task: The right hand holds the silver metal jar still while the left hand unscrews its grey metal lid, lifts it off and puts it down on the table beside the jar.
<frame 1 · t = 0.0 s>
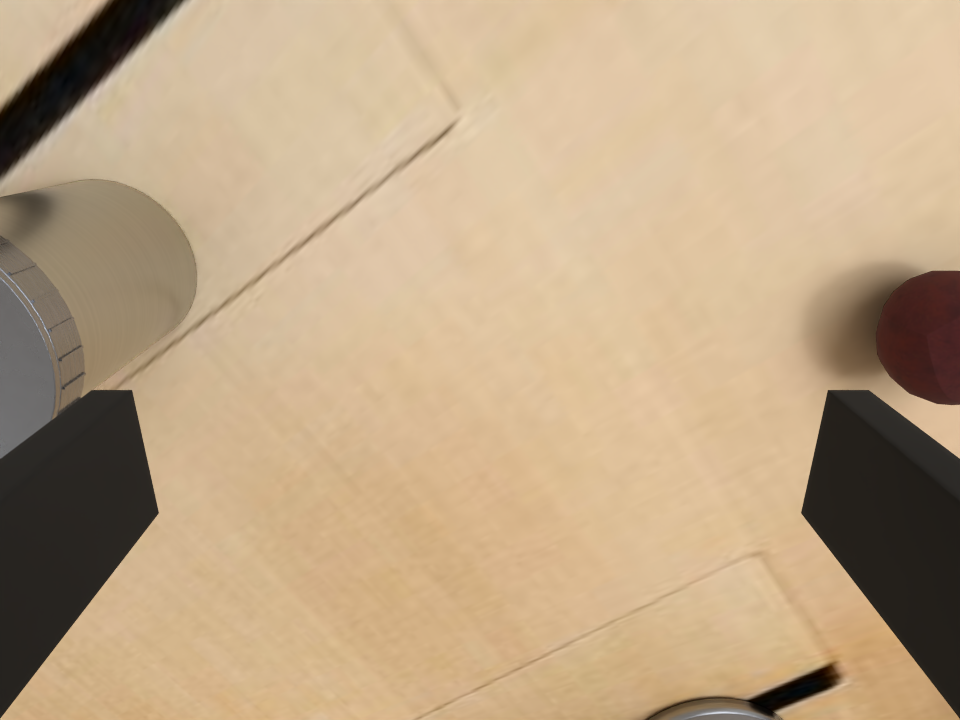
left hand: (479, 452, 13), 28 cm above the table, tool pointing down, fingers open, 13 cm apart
jar: (112, 265, 40), on the table
dark red ball: (909, 315, 41), on the table
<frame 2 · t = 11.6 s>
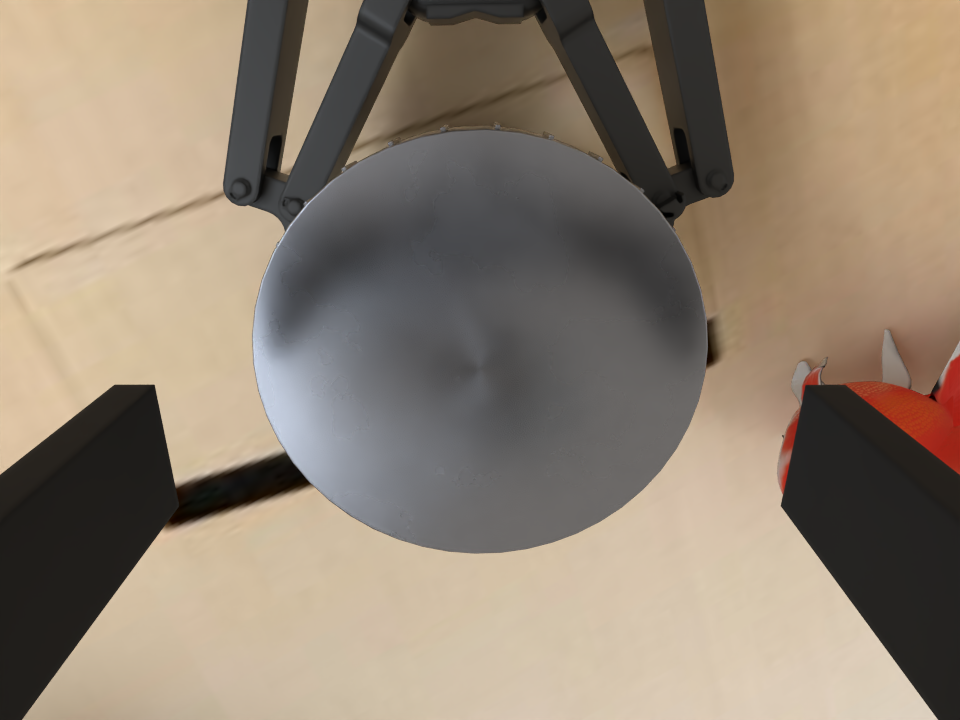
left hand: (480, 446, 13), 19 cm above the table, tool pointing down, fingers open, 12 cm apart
lid: (480, 363, 17), point 15 cm above the table, screwed on, not yet turned
fish: (879, 356, 33), on the table
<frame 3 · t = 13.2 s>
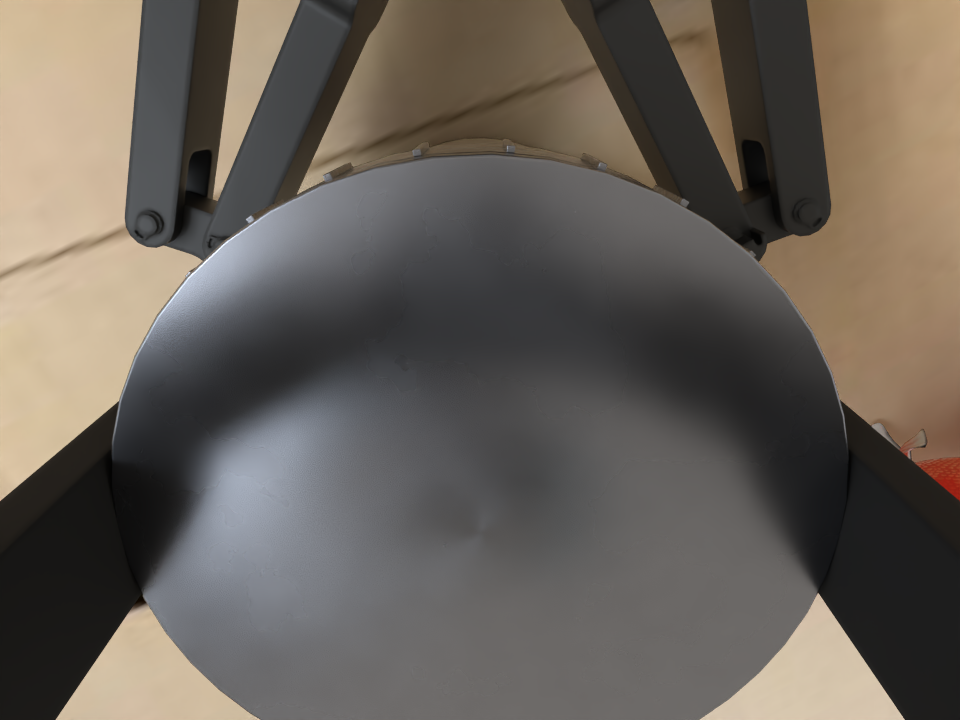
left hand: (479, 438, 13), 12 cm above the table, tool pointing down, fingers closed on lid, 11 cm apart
lid: (480, 519, 11), point 15 cm above the table, screwed on, not yet turned, touching left hand
jar: (479, 279, 25), on the table, touching right hand
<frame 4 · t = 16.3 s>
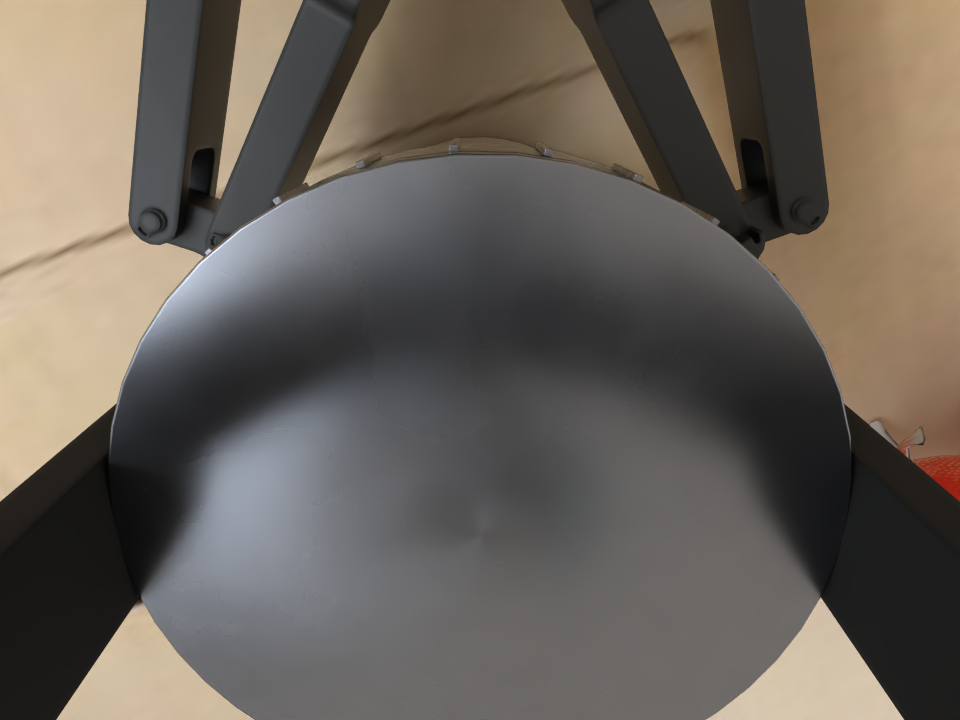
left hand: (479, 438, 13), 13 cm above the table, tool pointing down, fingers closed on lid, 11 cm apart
lid: (480, 521, 11), point 15 cm above the table, turned 94° so far, risen 0.2 cm, still on its thread, touching left hand
jar: (480, 277, 25), on the table, touching right hand
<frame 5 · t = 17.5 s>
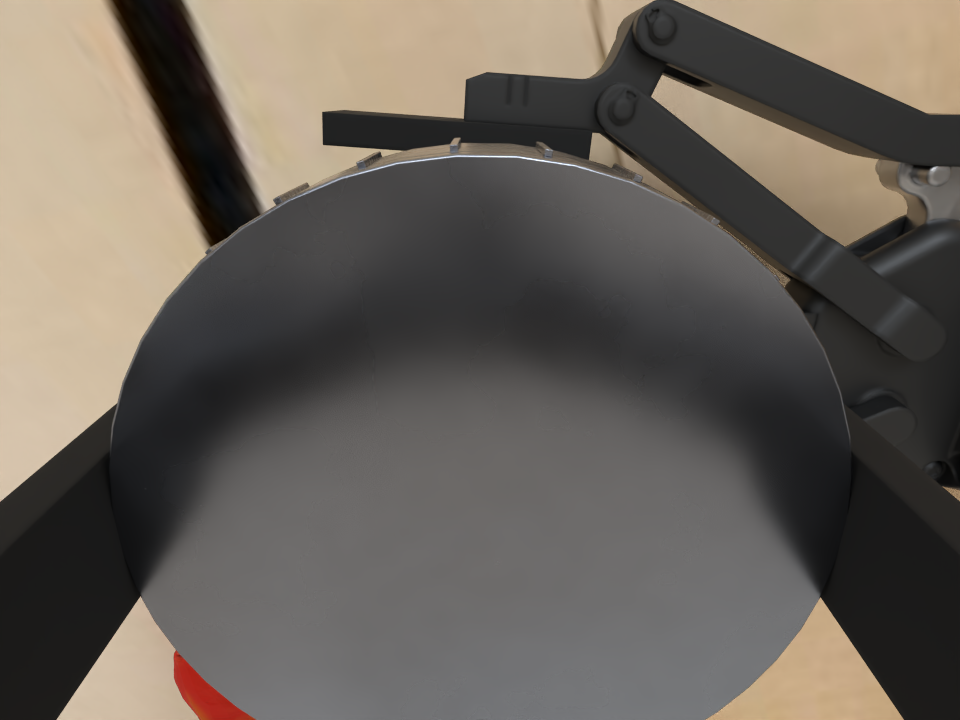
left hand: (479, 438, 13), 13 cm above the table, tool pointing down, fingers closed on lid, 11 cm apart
lid: (480, 521, 11), point 16 cm above the table, off its thread, touching left hand
fish: (331, 662, 32), on the table
when the left hand's fingers open (0 cm above the table, at t = 22.8 s): lid drops 1 cm, point 2 cm above the table.
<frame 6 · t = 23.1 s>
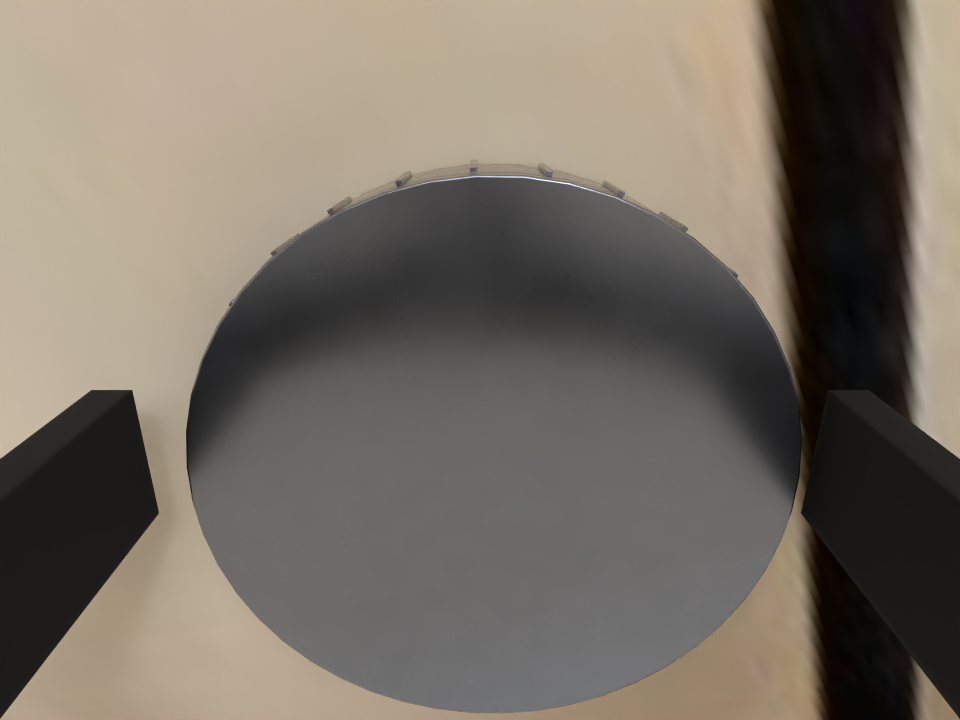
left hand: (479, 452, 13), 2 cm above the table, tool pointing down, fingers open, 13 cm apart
lid: (492, 479, 13), point 2 cm above the table, off its thread
when the right hand's fingers open (7 cm above the table, at t = 23.8 s): jar stays where it is, on the table.
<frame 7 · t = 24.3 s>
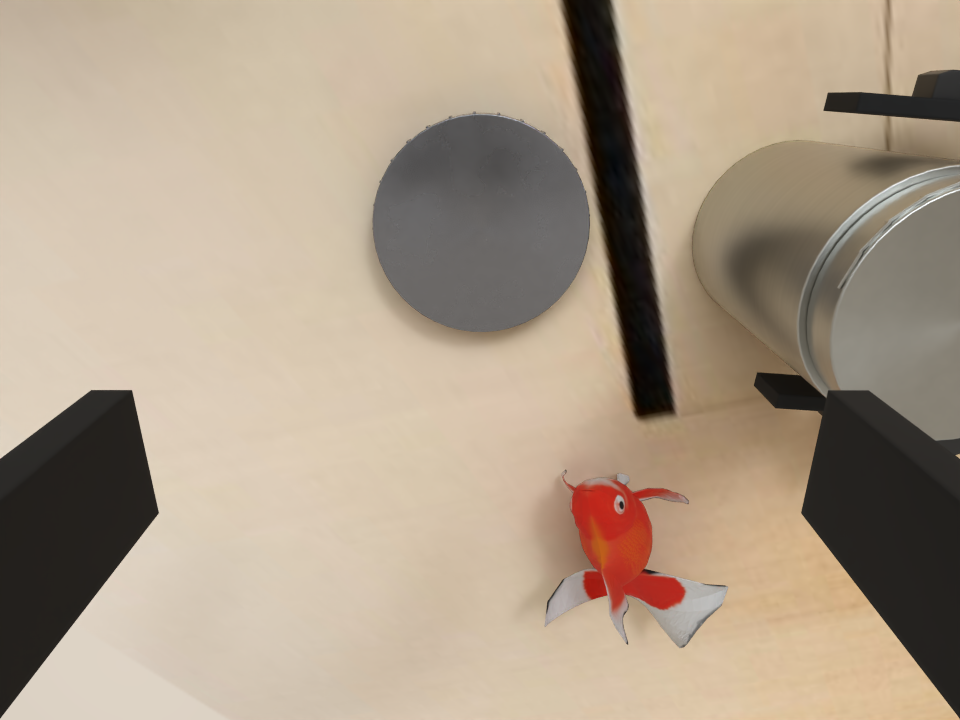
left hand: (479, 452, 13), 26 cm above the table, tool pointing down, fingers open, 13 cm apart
lid: (481, 228, 35), point 2 cm above the table, off its thread
jar: (782, 235, 37), on the table
fish: (621, 527, 44), on the table
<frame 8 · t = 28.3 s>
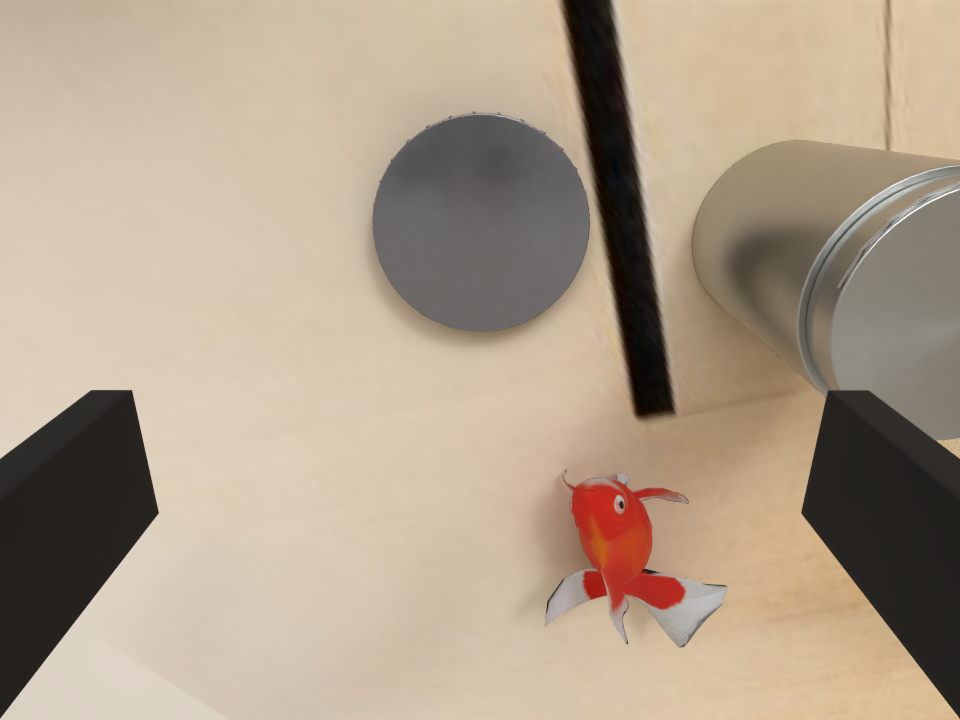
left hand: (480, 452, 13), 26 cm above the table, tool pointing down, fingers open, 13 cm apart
lid: (481, 228, 35), point 2 cm above the table, off its thread
jar: (782, 235, 37), on the table
fish: (621, 526, 44), on the table
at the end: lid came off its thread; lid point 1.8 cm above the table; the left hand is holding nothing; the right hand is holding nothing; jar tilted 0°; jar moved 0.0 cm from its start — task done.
